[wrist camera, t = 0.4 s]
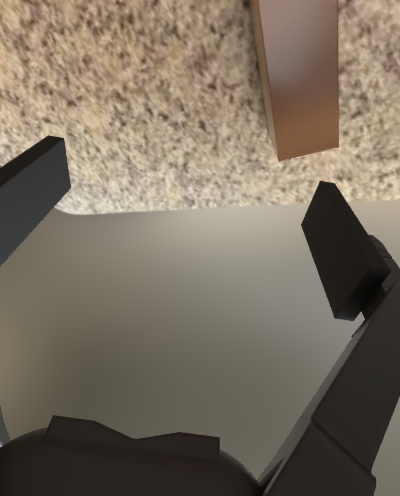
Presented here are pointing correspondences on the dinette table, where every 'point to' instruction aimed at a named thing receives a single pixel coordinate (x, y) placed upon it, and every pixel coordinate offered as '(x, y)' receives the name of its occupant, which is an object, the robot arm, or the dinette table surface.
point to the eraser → (298, 73)
